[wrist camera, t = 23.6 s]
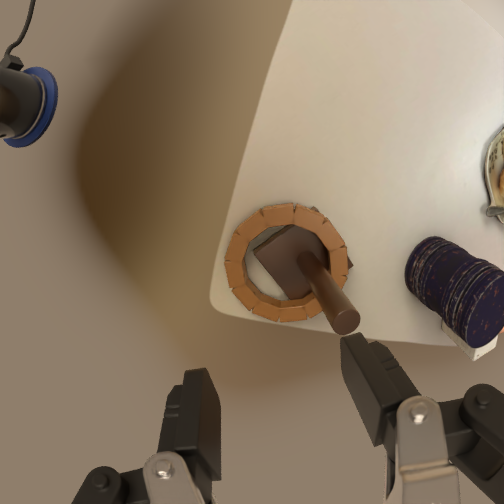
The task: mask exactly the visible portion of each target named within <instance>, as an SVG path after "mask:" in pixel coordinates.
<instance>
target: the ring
mask: <svg viewBox="0 0 504 504" xmlns="http://www.w3.org/2000/svg"><path fill="white" fill-rule="evenodd" d="M290 224H294V225H296V226H299V227H301V228H304V229H306V230H309V231H311V232H314V233H316V235H317V236H318V237H319V239H320V240H321V241H322V243H323V244H324V245H325V247H326V248H327V249H328V259H329V270H328V273H329V274H330V275H331V277H332V278H333V279H334V281H335V282H336V283H337V284H338V286H339V287H340V288H341V289H342V288H343V286H344V284H345V282H346V280H347V276H346V275H348V261H347V247H346V246H345V242H344V241H343V239H342V238H341V236H340V235H339V233H338V232H337V231H336V229H335V228H334V227H333V225H332V224H331V222H330V221H329V220H328V218H327V217H324V215H323V214H321V213H319V212H316V211H314V210H311V209H309V208H307V207H304V206H302V205H299V204H296V206H295V209H294V207H293V203H288V204H281V205H274V206H267V207H264V208H263V211H262V210H261V209H259V210H258V211H257V212H255V213H254V214H253V215H252V216H250V217H249V218H248V219H247V220H245V221H244V222H243V223H242V224H240V225H239V226H238V228H237V229H236V230H235V232H234V233H233V236H232V239H231V241H230V244H229V247H228V250H227V253H226V255H225V259H226V260H225V262H224V264H225V269H226V273H227V278H228V283H229V287H230V288H233V289H232V292H233V294H234V295H235V296H236V297H237V298H238V299H239V300H240V301H241V302H242V304H243V305H244V306H245V307H246V308H247V309H248V310H251V309H252V308H253V310H252V313H254V314H257V315H259V316H262V317H265V318H267V319H270V320H273V321H275V322H277V320H278V318H279V317H280V322H290V321H299V320H307V315H308V316H309V318H312V317H313V316H315V315H317V314H318V313H320V312H321V311H323V310H322V308H321V306H320V304H319V303H318V301H317V299H316V297H315V295H314V293H313V292H312V293H310V294H309V295H307V296H306V297H304V298H303V299H296V300H287V301H280V300H277V299H275V298H272V297H269V296H267V295H264V294H261V292H260V291H259V290H258V289H257V288H256V287H255V286H254V284H253V283H252V282H251V281H250V280H249V279H248V276H247V271H246V266H245V260H244V256H245V253H246V251H247V248H248V245H249V243H250V241H251V240H252V239H254V238H255V237H256V236H258V235H259V234H260V233H262V232H263V231H264V230H265V229H267V228H268V227H274V226H282V225H290Z"/></svg>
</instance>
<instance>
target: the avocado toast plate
mask: <svg viewBox="0 0 504 504" xmlns="http://www.w3.org/2000/svg"><path fill="white" fill-rule="evenodd" d="M485 182H486V186H487V189H488V192H489V195H490V199H491V205H490V206H489V207H488V208H487V212H486V214H487V216H488V217H493V216H497V217H498V218H499V220H500V222H501V223H503V224H504V127H503V129H502V131H501V132H500V133H498V135H496V137H495V138H494V140H493V141H492V143H491V144H490V145H489V147H488V150H487V154H486V159H485Z"/></svg>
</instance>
